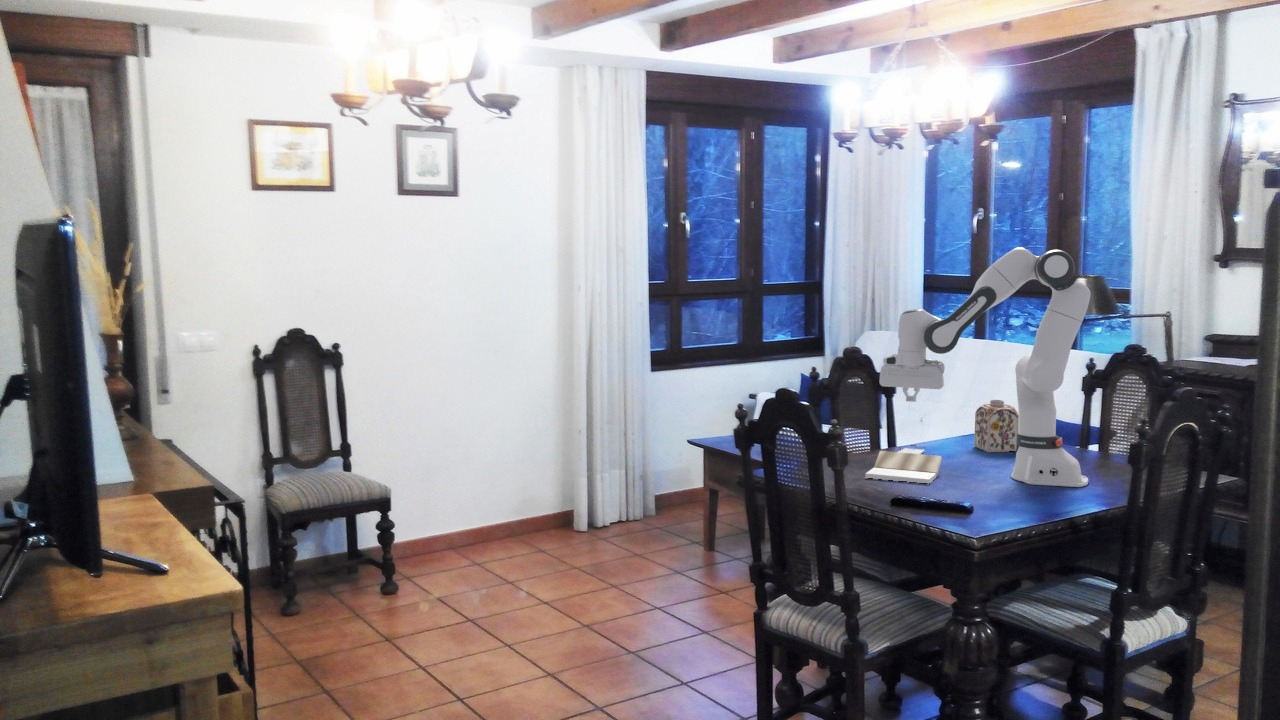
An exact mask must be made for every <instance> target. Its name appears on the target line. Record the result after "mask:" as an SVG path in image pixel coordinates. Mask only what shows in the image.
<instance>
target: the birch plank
mask: <svg viewBox="0 0 1280 720" xmlns="http://www.w3.org/2000/svg"><path fill="white" fill-rule="evenodd" d="M942 458H943V456H942V455H935V454H934V455H933V454H925V453H923V454H912V453H900V452H898V451H886V450H879V453H878V456H877V458H876V461H875V463H874V466H873V468H885V469H896V470H907V471H918V472H929V473H936V477H937V476H938V473H939V470H940V467H941V463H942V461H943V459H942Z"/></svg>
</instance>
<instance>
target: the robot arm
mask: <svg viewBox="0 0 1280 720" xmlns="http://www.w3.org/2000/svg"><path fill="white" fill-rule="evenodd" d="M1076 274H1077V272H1076V265H1075V261H1074V259H1073V258H1072V256H1071V255H1070V254H1069V253H1068V252H1066V251H1064V250H1061V249H1052V250H1049V251H1046V252H1045V253H1043V254H1041V255H1035V254H1033V253H1032V252H1031V251H1030V250H1029V249H1026V248H1024V247H1015V248H1013V249H1011V250H1010V251H1008V252H1007V253H1005V254H1004V255H1002V256H1001V257H999V258H998V259H997V260H996V261H995V262H994V263H992V264H991V265H990V266H989V267H988V268H987V269H985V271H984V272H983V273H982V274H981V275H980V277H979V278H978V279H977V281H976V282H975V284H974V287H973V290H972V292H971V293H970V295H969V296H968V298H967V299H966V300H965V301H964V302H963V303H962V304H961V305H960V306H959V307H958V308H956V310H954V311H953V312H952V313H951V314H950V315H949V316H947V317H945V318H944V319H943V318H940V317H937V316H934V314H931V313H930V312H928V311H926V310H925V309H924V308H915V309H909V310H905V311H904V312H902V313H901V314H900V317H899V320H898V321H899V322H898V327H897V328H898V330H897V332H898V333H897V334H898V335H897V336H898V337H897V338H898V342H899V343H898V348H897V353H894V354H891V355H889V356H886V357H884V358H883V359H882V360H883V361H882V363H883V365H882V367H880V371H879V372H880V373H879V383H878V384H879V385H880V386H881V387H886V388H887V387H888V388H889V387H890V388H902V392H903V394H904V395H905V401H906V402H911V403H916V402H917V396H918V394H919V393H920V391H921V389H925V390H926V389H928V390H929V389H930V390H941V389H942V388H943V387H944V386H945V383H944V382H945V381H944V373H945V364H944V363H943V362H942V361H941V360H939V359H938V360H937V359H935V360H932V359H927V349H928V350H929V351H931V352H932V353H935V354H940V355H941V354H942V355H944V354H947V353H950V352H952V350H953V349H955V348H956V346H957V345H958V342H959V341H960V340H959V339H960V337H961V335H962V333H963V332H964V331H965V330H967V328H969V327H970V326H971V325H972V324H973V323H974V322H975V321H976V320H977V319H978V318H980V316H981V315H982V314H984V313H985V312H986V311H988V310H989V309H991V308H993V307H995V306H997V305H999V304H1000V303H1002V302H1003V301H1005V300H1007V299H1008V298H1009V297H1010V296H1012V295H1013V294H1015V293H1016V292H1017V291H1018V290H1019V289H1020V288H1021V287H1022V286H1023V285H1025V284H1026V283H1027V282H1029V281H1031V280H1033V281H1035V282H1038V283H1039V284H1041V285H1042V286H1046V287H1048V288H1050V289H1051V291H1052V292H1051V298H1050V300H1049V303H1048V306H1047V307H1046V310H1045V313H1044V314H1043V317H1042V319H1041V321H1040V323H1039V325H1038V328H1037V329H1036V333H1035V340H1034V343H1033V347H1032V352H1031V353H1030V354H1026V355H1024V356H1023V357H1020V359H1019V360H1018V361H1017V363H1016V365H1015V368H1014V369H1015V370H1014V371H1015V383H1016V394H1017V395H1016V396H1017V403H1018V404H1017V405H1018V415H1019V416H1018V433H1017V435H1016V451H1017V452H1015V453H1016V454H1015V460H1014V464H1013V465H1014V466H1013V469H1012V473H1011V474H1010V477H1011V478H1012V479H1013V480H1015V481H1018V482H1023V483H1025V484H1027V485H1035V486H1036V485H1037V486H1053V487H1054V486H1055V487H1057V486H1058V487H1071V488H1072V487H1073V488H1074V487H1075V488H1081V487H1085V486H1087V485H1088V484H1089V478H1088V477H1087V476H1086V475H1082V471H1081V465H1080V463H1079V460H1078V459H1077V458H1075V457H1074V456H1073V455H1072V454H1070V453H1069V452H1068V451H1066V450H1065V449H1064V448H1063V445H1064V444H1063V443H1064V442H1063V438H1062V437H1060V436H1058V435H1057V434H1056V431H1057V429H1056V428H1057V408H1056V407H1057V406H1056V403H1055V397H1054V392H1055V391H1057V390H1058V389H1059V388H1060V387H1061V386H1062V385H1063V382H1064V377H1065V371H1066V368H1067V365H1068V361H1069V357H1070V354H1071V350H1072V346H1073V344H1074V342H1075V339H1076V337H1077V335H1078V332H1079V330H1080V327H1081V326H1082V324H1083V321H1084V319H1085V316H1086V314H1087V311H1088V307H1089V304H1090V300H1091V291H1090V288H1088V286H1087V285H1086V284H1084V283H1083V282H1081V281H1078V280H1077V275H1076ZM909 388H910V389H913V391H914V394H913V395H910V394H909Z"/></svg>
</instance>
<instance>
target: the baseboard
mask: <svg viewBox="0 0 1280 720" xmlns="http://www.w3.org/2000/svg"><path fill="white" fill-rule="evenodd" d="M909 447H917V445H916V444H915V445H914V444H913V445H911V444H910V446H909ZM920 448H921V449H917V448H908V447H904V448H902V447H899V450H898V451H897V452H900V453H912V454H922V453H923V452H924V451H925V452H926V447H925V446H924V447H923V446H922V447H920ZM923 448H924V449H923ZM902 449H903V450H902ZM900 450H901V451H900ZM923 454H924V453H923Z"/></svg>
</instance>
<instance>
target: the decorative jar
mask: <svg viewBox="0 0 1280 720" xmlns="http://www.w3.org/2000/svg"><path fill="white" fill-rule="evenodd" d="M974 414H975V416H974V439H973V440H974V448H976V447H977V448H976V449H978V448H979V450H981V449H982V450H981V451H983V450H984V451H983V452H985V451H986V453H988V452H997V453H1010V452H1009V451H1016V435H1017V433H1018V416H1019V412H1018V411H1017V409H1016V408H1015V407H1014V406H1013V405H1009V404H1005V401H1004V400H1001V399H991V400H990V402H989V403H985V404H981V405H980V406H979V407H978V408H976V411H975V413H974Z"/></svg>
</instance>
